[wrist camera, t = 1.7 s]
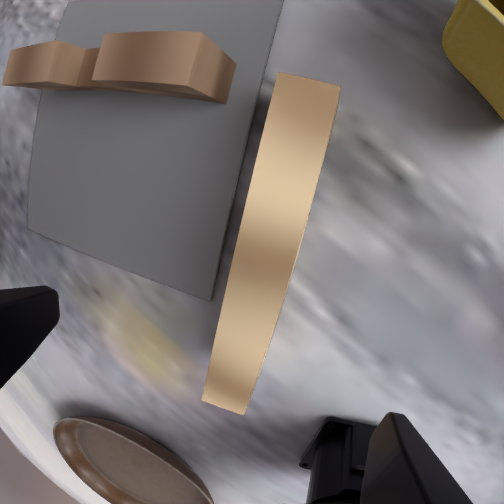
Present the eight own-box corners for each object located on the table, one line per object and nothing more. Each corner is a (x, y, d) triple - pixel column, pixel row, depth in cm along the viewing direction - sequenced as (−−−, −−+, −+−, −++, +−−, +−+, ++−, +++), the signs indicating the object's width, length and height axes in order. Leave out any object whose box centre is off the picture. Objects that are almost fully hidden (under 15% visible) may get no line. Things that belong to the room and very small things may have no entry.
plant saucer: (128, 382, 24) (107, 404, 21) (261, 509, 26) (254, 532, 23) (46, 414, 31) (32, 428, 28) (147, 511, 34) (139, 526, 30)
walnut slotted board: (236, 63, 15) (202, 32, 10) (226, 104, 16) (187, 85, 11) (60, 60, 17) (10, 50, 12) (53, 90, 18) (2, 85, 13)
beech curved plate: (263, 363, 20) (243, 415, 16) (228, 352, 21) (201, 400, 16) (337, 107, 15) (340, 86, 10) (292, 96, 15) (277, 72, 11)
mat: (212, 298, 20) (209, 301, 19) (30, 227, 22) (27, 228, 22) (286, -8, 13) (285, -11, 13) (71, 3, 16) (68, 2, 16)
